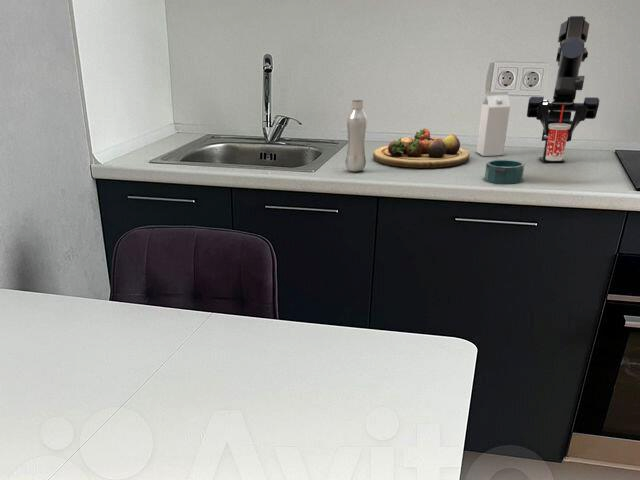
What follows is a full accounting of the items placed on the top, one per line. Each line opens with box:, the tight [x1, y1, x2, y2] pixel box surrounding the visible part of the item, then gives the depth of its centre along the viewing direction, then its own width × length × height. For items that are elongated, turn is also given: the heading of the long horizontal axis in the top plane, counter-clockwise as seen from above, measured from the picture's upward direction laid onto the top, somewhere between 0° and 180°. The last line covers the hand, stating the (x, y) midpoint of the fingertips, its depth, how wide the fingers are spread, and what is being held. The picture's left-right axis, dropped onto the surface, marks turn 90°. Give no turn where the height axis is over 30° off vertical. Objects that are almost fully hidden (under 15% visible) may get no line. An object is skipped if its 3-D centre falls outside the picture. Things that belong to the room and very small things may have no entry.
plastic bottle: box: [345, 99, 368, 173], centre depth 226 cm, size 6×7×20 cm
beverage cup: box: [545, 105, 571, 161], centre depth 205 cm, size 6×6×14 cm
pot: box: [484, 159, 526, 185], centre depth 216 cm, size 11×14×4 cm
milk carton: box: [476, 90, 511, 157], centre depth 244 cm, size 7×7×19 cm
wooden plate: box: [372, 128, 471, 169], centre depth 242 cm, size 32×32×8 cm
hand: (558, 134), depth 204 cm, fingers closed on beverage cup, 6 cm apart
